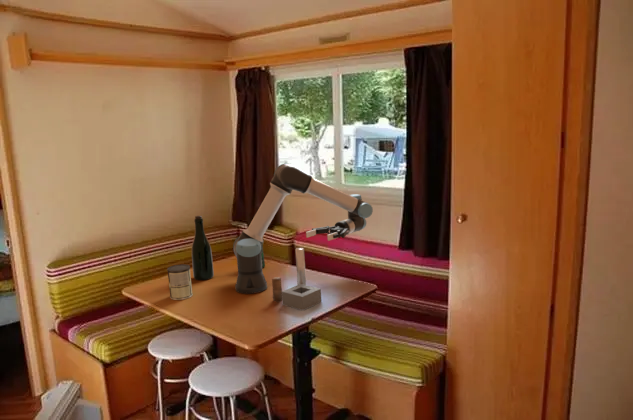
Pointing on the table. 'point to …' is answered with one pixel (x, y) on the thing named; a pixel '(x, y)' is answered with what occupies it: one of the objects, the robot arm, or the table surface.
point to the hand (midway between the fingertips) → (317, 236)
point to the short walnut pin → (277, 289)
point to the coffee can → (179, 282)
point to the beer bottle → (201, 253)
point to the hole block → (301, 296)
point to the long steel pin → (300, 266)
